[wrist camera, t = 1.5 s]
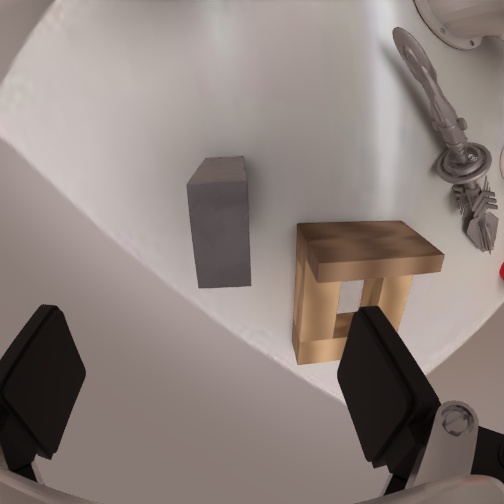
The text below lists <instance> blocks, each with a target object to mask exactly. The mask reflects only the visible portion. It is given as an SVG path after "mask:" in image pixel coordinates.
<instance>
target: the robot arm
mask: <svg viewBox="0 0 504 504" xmlns="http://www.w3.org/2000/svg"><path fill="white" fill-rule="evenodd" d="M414 1H415V4H416V6H417V8H418V11H419V13H420V14H421V16H422V18H423V19H424V21H425V22H426V23H427V25H428V26H429V28H430V29H431V30H432V31H433V32H434V33H435V34H436V35H437V36H438V37H439V38H440V39H442V40H443V41H444V42H446V43H447V44H449V45H450V46H452V47H454V48H457V49H461V50H469V49H474V48H476V47H477V46H479V45H480V43H481V42H482V40H483V36H489V35H491V36H493V35H495V36H496V37H497V38H499V39H501V40H502V41H504V0H414ZM85 376H86V370H85V367H84V365H83V362H82V360H81V358H80V355H79V353H78V350H77V348H76V346H75V343H74V341H73V338H72V336H71V333H70V330H69V328H68V325H67V322H66V320H65V316H64V314H63V312H62V311H61V310H60V309H59V308H58V307H57V306H55V305H44V304H43V305H41V306H40V307H39V308H38V309H37V310H36V312H35V313H34V314H33V315H32V317H31V318H30V319H29V321H28V322H27V323H26V325H25V326H24V327H23V329H22V330H21V331H20V333H19V334H18V335H17V337H16V338H15V339H14V341H13V342H12V344H11V345H10V347H9V348H8V349H7V351H6V352H5V354H4V355H3V357H2V358H1V360H0V504H102V503H98V502H94V501H90V500H86V499H83V498H80V497H76V496H73V495H70V494H67V493H64V492H61V491H58V490H55V489H53V488H50V487H47V486H45V484H44V482H43V479H42V477H41V474H40V472H39V469H38V467H37V464H36V461H35V455H36V454H38V456H41V457H44V458H46V459H49V460H51V458H52V455H53V453H56V452H57V450H58V447H59V444H60V441H61V438H62V435H63V433H64V430H65V427H66V425H67V422H68V419H69V417H70V414H71V411H72V409H73V406H74V404H75V401H76V399H77V396H78V394H79V391H80V389H81V387H82V384H83V382H84V379H85ZM337 378H338V382H339V385H340V388H341V390H342V393H343V396H344V398H345V401H346V404H347V407H348V410H349V412H350V415H351V418H352V420H353V424H354V426H355V429H356V432H357V435H358V438H359V441H360V444H361V446H362V450H363V452H364V455H365V458H366V460H367V461H368V462H372V465H373V467H374V468H378V467H381V466H385V465H387V467H388V470H389V472H390V474H389V476H388V478H387V480H386V482H385V485H384V487H383V489H382V491H381V493H380V495H379V497H378V498H375V499H371V500H368V501H364V502H360V503H355V504H504V434H500V433H498V432H495V431H492V430H489V429H486V428H483V427H480V426H479V424H478V418H477V415H476V413H475V411H474V410H473V409H472V408H471V407H470V406H469V405H467V404H466V403H463V402H461V401H448V402H445V403H443V404H442V405H441V403H440V401H439V398H438V396H437V395H436V393H435V391H434V390H433V388H432V386H431V385H430V384H429V382H428V380H427V378H426V377H425V375H424V373H423V372H422V370H421V369H420V367H419V366H418V364H417V362H416V361H415V359H414V358H413V356H412V355H411V353H410V352H409V350H408V348H407V347H406V345H405V344H404V342H403V341H402V339H401V338H400V336H399V335H398V333H397V332H396V330H395V329H394V327H393V326H392V324H391V323H390V322H389V320H388V319H387V317H386V316H385V314H384V313H383V311H382V310H381V309H380V307H379V306H364V307H360V308H359V310H358V312H354V314H353V317H352V321H351V325H350V329H349V333H348V336H347V340H346V344H345V347H344V351H343V354H342V358H341V361H340V364H339V368H338V371H337Z"/></svg>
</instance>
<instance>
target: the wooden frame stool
mask: <svg viewBox="0 0 504 504" xmlns="http://www.w3.org/2000/svg"><path fill="white" fill-rule="evenodd" d="M443 260H444V254H443V253H442V252H441V251H440V250H438V249H437V248H436V247H435V246H433V245H432V244H431V243H430V242H428V241H427V240H426V239H425V238H423V237H422V236H421V235H419V234H418V233H417V232H416V231H414V230H413V229H412V228H410V227H409V226H408V225H406V224H405V223H404V222H402V221H366V222H328V223H299V224H297V254H296V279H295V299H294V317H293V333H292V343H293V347H294V351H295V356H296V360H297V364H298V365H303V364H312V363H320V362H328V361H336V360H341V358H342V354H343V351H344V347H345V344H346V340H347V336H348V333H349V329H350V325H351V321H352V317H353V314H354V312H352V313H344V314H336V313H337V307H338V300H339V293H340V286H341V281H352V280H364V279H365V282H364V288H363V294H362V299H361V304H360V307H364V306H379V307H380V309H381V310H382V311H383V313H384V314H385V316H386V317H387V319H388V320H389V322H390V323H391V324H392V326H393V327H394V329H395V330H396V332H397V331H398V328H399V325H400V321H401V318H402V315H403V311H404V308H405V304H406V300H407V297H408V293H409V289H410V285H411V281H412V277H413V275H416V274H425V273H434V272H440V271H441V268H442V264H443Z"/></svg>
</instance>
